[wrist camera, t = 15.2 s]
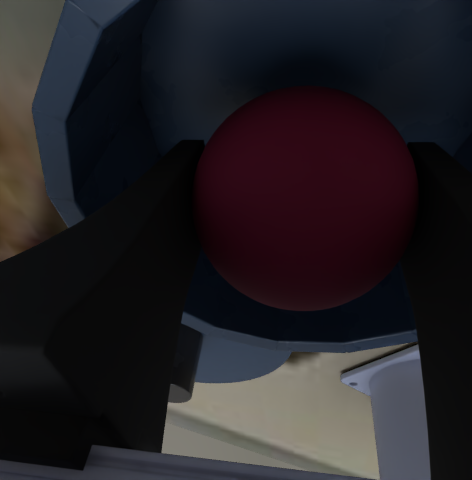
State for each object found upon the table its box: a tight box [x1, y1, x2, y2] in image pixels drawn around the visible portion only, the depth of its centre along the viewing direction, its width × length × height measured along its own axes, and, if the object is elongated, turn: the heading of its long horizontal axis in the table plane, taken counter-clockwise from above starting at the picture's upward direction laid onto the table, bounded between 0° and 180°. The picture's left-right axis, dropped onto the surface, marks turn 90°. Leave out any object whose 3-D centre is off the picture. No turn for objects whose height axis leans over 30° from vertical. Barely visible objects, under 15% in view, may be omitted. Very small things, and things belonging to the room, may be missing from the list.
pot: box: [32, 0, 472, 353], centre depth 11 cm, size 12×12×6 cm
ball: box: [192, 85, 419, 311], centre depth 10 cm, size 5×5×5 cm
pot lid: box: [168, 323, 292, 403], centre depth 23 cm, size 13×13×5 cm
